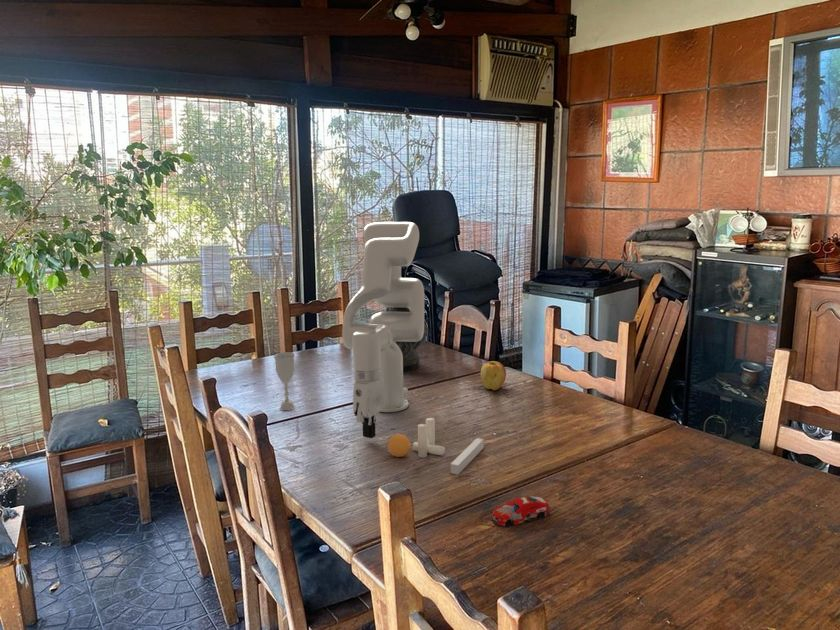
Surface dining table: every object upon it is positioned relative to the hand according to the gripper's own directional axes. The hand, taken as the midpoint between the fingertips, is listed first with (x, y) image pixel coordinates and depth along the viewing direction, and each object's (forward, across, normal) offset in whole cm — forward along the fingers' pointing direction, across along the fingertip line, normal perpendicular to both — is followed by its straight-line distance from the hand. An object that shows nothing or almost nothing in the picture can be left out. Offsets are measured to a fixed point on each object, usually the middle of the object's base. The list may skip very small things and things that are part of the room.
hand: (369, 436), depth 176 cm
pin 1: (+2, -2, -18) cm, 18 cm away
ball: (-2, -5, -12) cm, 14 cm away
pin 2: (+2, +2, -18) cm, 18 cm away
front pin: (0, 0, -14) cm, 14 cm away
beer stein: (+2, +72, +27) cm, 77 cm away
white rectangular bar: (+2, 0, -30) cm, 30 cm away
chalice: (+2, +13, +39) cm, 41 cm away
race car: (+2, -22, -51) cm, 56 cm away
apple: (+2, +59, -16) cm, 61 cm away
